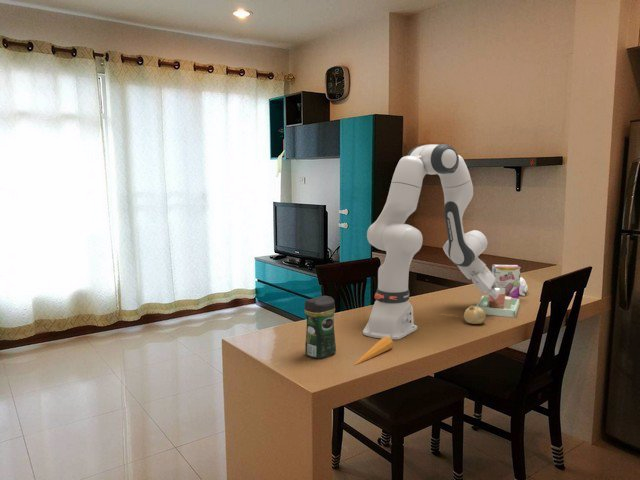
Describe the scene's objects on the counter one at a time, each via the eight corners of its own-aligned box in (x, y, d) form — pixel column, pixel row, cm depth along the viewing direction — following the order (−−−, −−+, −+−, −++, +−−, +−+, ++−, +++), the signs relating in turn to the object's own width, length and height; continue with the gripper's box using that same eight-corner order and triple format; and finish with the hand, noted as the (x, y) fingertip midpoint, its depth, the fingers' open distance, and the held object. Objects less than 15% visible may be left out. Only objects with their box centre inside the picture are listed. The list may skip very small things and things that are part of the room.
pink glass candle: (503, 314, 197) (504, 290, 196) (487, 312, 200) (488, 288, 198) (505, 310, 202) (506, 286, 201) (489, 308, 205) (490, 285, 204)
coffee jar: (323, 347, 164) (323, 292, 162) (339, 353, 158) (339, 296, 156) (300, 354, 158) (299, 297, 155) (316, 361, 152) (316, 302, 149)
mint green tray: (514, 319, 193) (515, 310, 192) (475, 315, 199) (475, 306, 199) (519, 306, 211) (519, 298, 210) (482, 303, 217) (482, 295, 217)
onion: (466, 319, 194) (467, 301, 193) (487, 322, 190) (488, 304, 189) (461, 324, 188) (461, 306, 187) (482, 327, 184) (483, 309, 183)
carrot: (386, 348, 165) (381, 336, 165) (397, 346, 162) (392, 333, 162) (351, 373, 150) (345, 359, 150) (362, 371, 147) (356, 357, 147)
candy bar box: (492, 303, 217) (494, 266, 215) (490, 300, 222) (491, 264, 220) (519, 303, 216) (521, 266, 214) (515, 300, 221) (517, 264, 219)
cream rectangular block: (509, 309, 205) (510, 299, 204) (487, 306, 209) (487, 297, 208) (511, 306, 209) (511, 296, 209) (488, 303, 213) (489, 294, 213)
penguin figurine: (510, 276, 230) (518, 274, 239) (508, 294, 230) (517, 292, 240) (524, 278, 226) (532, 276, 235) (522, 296, 226) (531, 294, 236)
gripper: (476, 269, 192) (501, 296, 189) (484, 260, 210) (507, 285, 207) (464, 279, 195) (489, 306, 192) (472, 270, 213) (495, 294, 210)
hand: (498, 295), depth 200 cm, fingers open, 8 cm apart
